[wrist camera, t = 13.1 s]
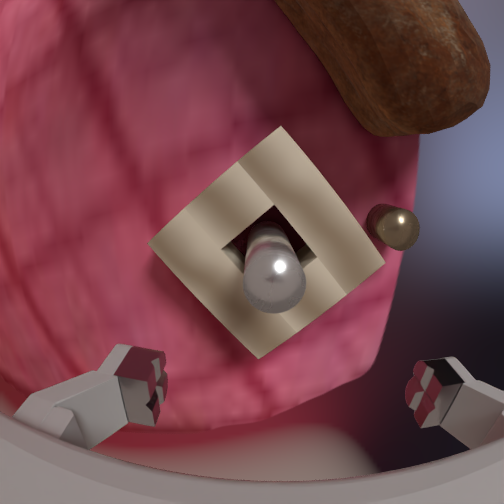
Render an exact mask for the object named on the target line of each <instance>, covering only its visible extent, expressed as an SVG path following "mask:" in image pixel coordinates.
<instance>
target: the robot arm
mask: <svg viewBox="0 0 504 504" xmlns="http://www.w3.org/2000/svg"><path fill="white" fill-rule="evenodd" d="M165 365H166V356H165V353H164V351H158V350H152V349H147V348H141V347H136V346H131V345H125V344H116V346H115V347H114V348H113V350H112V351H111V352H110V354H109V355H108V356H107V358H106V359H105V360H104V362H103V363H102V365H101V366H100V367H99V369H98V370H97V371H93V370H92V371H90V372H87V373H85V374H82V375H80V376H77V377H75V378H72V379H69V380H67V381H64V382H62V383H59V384H56V385H54V386H51V387H49V388H46V389H43V390H41V391H38V392H35V393H32V394H31V395H30V396H29V397H28V398H27V399H26V401H25V402H24V403H23V404H22V405H21V407H20V408H19V409H18V410H17V411H16V413H15V414H14V415H13V416H12V417H10V416H8V415H6V414H5V413H2V412H1V411H0V504H504V392H503V391H501V390H499V389H497V388H495V387H493V386H490V385H488V384H486V383H484V382H481V381H479V380H478V381H476V380H475V379H474V378H473V377H472V376H471V374H470V373H469V372H468V371H467V370H466V369H465V368H464V366H463V365H462V364H461V363H460V362H459V361H458V360H457V359H456V358H454V357H448V358H441V359H434V360H424V361H418V362H417V364H416V365H415V367H414V370H413V373H414V377H413V378H412V379H411V380H410V381H409V382H408V385H407V387H406V394H405V398H406V402H407V404H408V406H409V407H411V408H412V409H413V410H415V413H414V417H415V419H416V420H417V422H418V424H419V426H420V428H424V427H430V426H436V425H440V426H441V427H442V428H444V429H445V430H446V431H448V432H449V433H450V434H452V435H453V436H454V437H456V438H457V439H458V440H460V441H461V442H462V443H464V444H465V445H466V446H468V447H469V448H470V449H471V450H468V451H465V452H463V453H459V454H456V455H453V456H450V457H447V458H444V459H440V460H436V461H433V462H429V463H425V464H421V465H417V466H413V467H408V468H404V469H399V470H394V471H389V472H383V473H378V474H371V475H365V476H357V477H349V478H340V479H328V480H312V481H250V480H233V479H223V478H212V477H204V476H197V475H189V474H184V473H178V472H172V471H167V470H161V469H157V468H152V467H147V466H143V465H139V464H135V463H131V462H127V461H123V460H120V459H116V458H112V457H109V456H106V455H103V454H99V453H96V452H93V451H90V449H91V448H93V447H94V446H96V445H97V444H99V443H100V442H102V441H103V440H105V439H106V438H108V437H109V436H110V435H112V434H113V433H114V432H116V431H118V430H119V429H120V428H122V427H123V426H125V425H126V424H127V423H128V422H133V423H138V424H143V425H148V426H154V427H155V425H156V422H157V420H158V417H159V414H160V406H159V405H160V404H162V403H163V402H164V401H165V398H166V394H167V388H168V377H167V373H166V372H165V371H164V370H163V369H164V367H165Z"/></svg>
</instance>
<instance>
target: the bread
mask: <svg viewBox="0 0 504 504" xmlns="http://www.w3.org/2000/svg"><path fill="white" fill-rule="evenodd" d="M274 1H275V2H276V3H277V5H278V6H279V7H280V8H281V10H282V11H283V12H284V14H285V15H286V16H287V17H288V19H289V20H290V21H291V23H292V24H293V25H294V27H295V28H296V30H297V31H298V32H299V34H300V35H301V36H302V37H303V39H304V40H305V41H306V42H307V44H308V45H309V46H310V47H311V49H312V50H313V51H314V53H315V54H316V55H317V57H318V58H319V60H320V61H321V62H322V64H323V65H324V67H325V68H326V70H327V72H328V73H329V75H330V76H331V78H332V80H333V82H334V83H335V85H336V87H337V89H338V91H339V92H340V94H341V96H342V98H343V100H344V102H345V103H346V105H347V106H348V108H349V109H350V110H351V112H352V113H353V115H354V116H355V117H356V119H357V120H358V121H359V123H360V124H361V125H362V126H363V127H364V128H365V129H366V130H368V131H369V132H371V133H372V134H373V135H376V136H383V137H391V136H404V135H412V134H430V133H433V132H436V131H440V130H443V129H446V128H450V127H453V126H455V125H457V124H458V123H460V122H462V121H463V120H465V119H467V118H468V117H469V116H470V115H472V114H473V113H474V112H475V111H477V110H478V109H479V108H481V107H482V106H483V104H484V101H485V99H486V96H487V93H488V91H489V85H490V63H489V60H488V57H487V53H486V50H485V47H484V44H483V42H482V40H481V38H480V36H479V35H478V33H477V31H476V29H475V28H474V26H473V25H472V23H471V21H470V20H469V18H468V16H467V14H466V13H465V11H464V9H463V8H462V6H461V5H460V3H459V1H458V0H274Z"/></svg>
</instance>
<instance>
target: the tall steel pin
mask: <svg viewBox="0 0 504 504" xmlns="http://www.w3.org/2000/svg"><path fill="white" fill-rule="evenodd" d="M305 290H306V276H305V273H304V271H303V269H302V267H301V264H300V262H299V260H298V258H297V256H296V254H295V252H294V250H293V248H292V246H291V244H290V242H289V240H288V238H287V236H286V234H285V232H284V230H283V229H282V227H281V226H280V225H278V224H277V223H275V222H272V221H262V222H259V223H257V224H256V225H255V226H253V228H252V229H251V230H250V232H249V235H248V242H247V250H246V259H245V268H244V276H243V291H244V294H245V296H246V298H247V300H248V301H249V303H250V304H251V305H252V306H253V307H255V308H256V309H258V310H260V311H262V312H266V313H272V314H276V313H282V312H285V311H288V310H290V309H292V308H293V307H294V306H296V305H297V304H298V303H299V302H300V300H301V299H302V297H303V295H304V293H305Z"/></svg>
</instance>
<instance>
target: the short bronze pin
mask: <svg viewBox="0 0 504 504" xmlns="http://www.w3.org/2000/svg"><path fill="white" fill-rule="evenodd" d="M366 223H367V229H368V231H369V233H370V234H371V235H372V236H373V237H374V238H376V239H378V240H379V241H381V242H383V243H384V244H386V245H388V246H389V247H391V248H393V249H395V250H398V251H403V250H406V249H409V248H410V247H411V246H413V245H414V243H415V242H416V240H417V238H418V235H419V222H418V219H417V217H416V216H415V215H414V214H413V213H412V212H411V211H408V210H405V209H402V208H398V207H395V206H391V205H387V204H379V205H376V206H375V207H373V208H372V209H371V210H370V212H369V214H368V216H367V222H366Z"/></svg>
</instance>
